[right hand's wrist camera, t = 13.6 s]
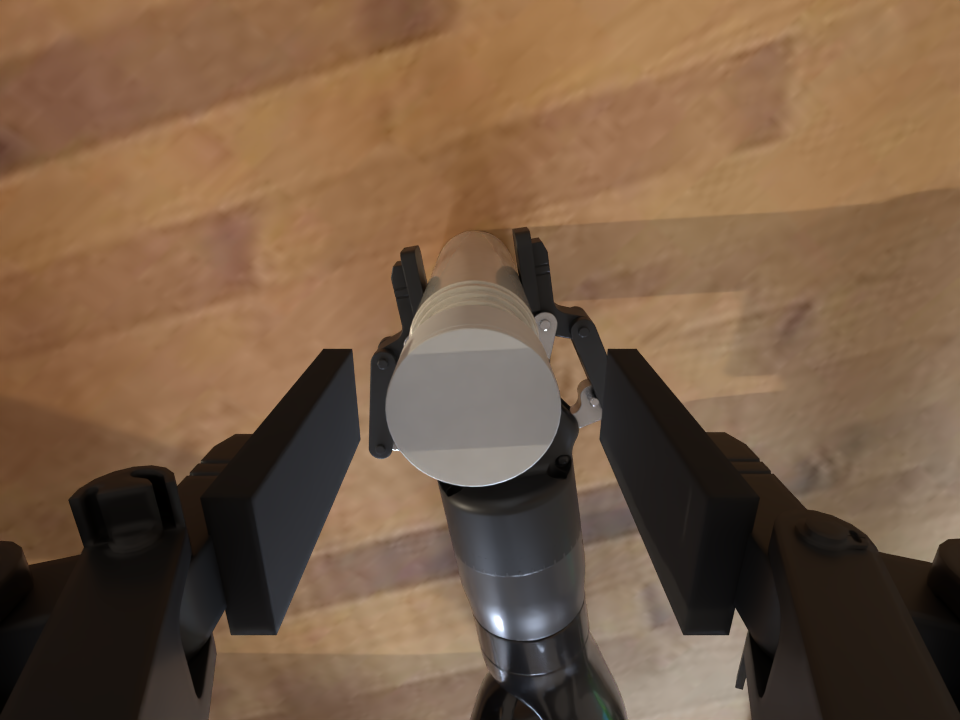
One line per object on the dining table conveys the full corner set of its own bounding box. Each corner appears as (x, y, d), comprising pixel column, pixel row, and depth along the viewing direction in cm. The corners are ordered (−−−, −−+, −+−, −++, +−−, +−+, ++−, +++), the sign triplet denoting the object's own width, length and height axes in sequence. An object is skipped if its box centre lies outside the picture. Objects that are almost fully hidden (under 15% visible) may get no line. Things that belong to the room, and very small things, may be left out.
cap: (399, 443, 16) (388, 485, 14) (395, 302, 15) (381, 325, 13) (544, 446, 17) (554, 488, 14) (554, 306, 15) (568, 329, 13)
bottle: (437, 305, 33) (389, 478, 15) (436, 229, 31) (382, 319, 13) (511, 307, 33) (554, 481, 15) (515, 231, 31) (567, 323, 13)
